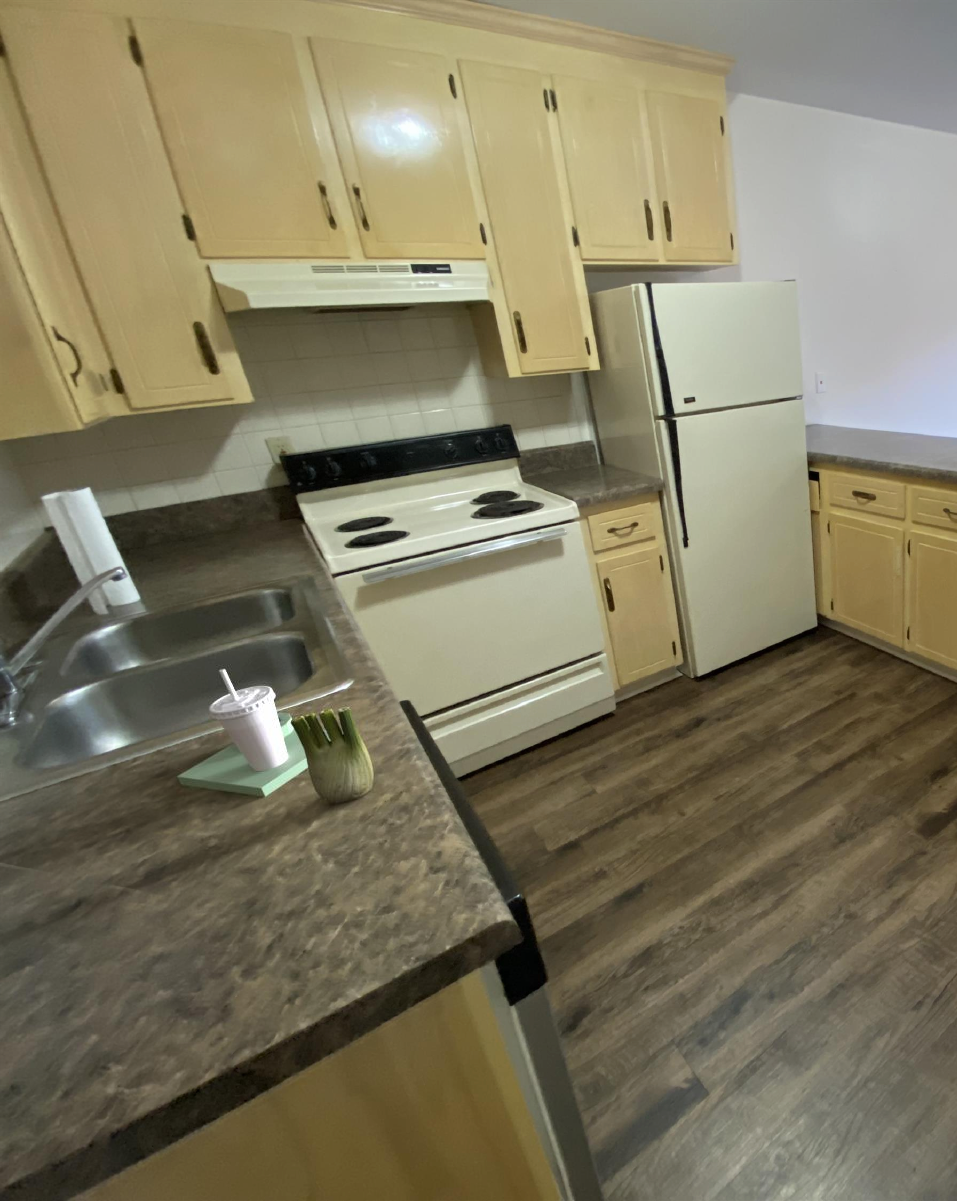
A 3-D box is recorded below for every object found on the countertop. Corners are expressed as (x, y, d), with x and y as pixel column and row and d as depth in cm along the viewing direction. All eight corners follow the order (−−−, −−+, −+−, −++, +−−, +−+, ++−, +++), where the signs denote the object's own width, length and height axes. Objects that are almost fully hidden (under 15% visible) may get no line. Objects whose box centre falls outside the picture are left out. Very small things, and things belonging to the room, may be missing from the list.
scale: (179, 785, 84) (169, 766, 82) (274, 728, 95) (266, 711, 94) (265, 797, 80) (255, 777, 79) (353, 737, 92) (345, 719, 90)
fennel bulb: (386, 783, 81) (354, 701, 77) (358, 810, 77) (322, 724, 72) (343, 782, 82) (309, 701, 77) (313, 809, 77) (275, 724, 73)
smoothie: (227, 775, 83) (178, 679, 77) (275, 745, 88) (233, 654, 83) (266, 780, 81) (219, 683, 76) (312, 749, 87) (272, 656, 81)
